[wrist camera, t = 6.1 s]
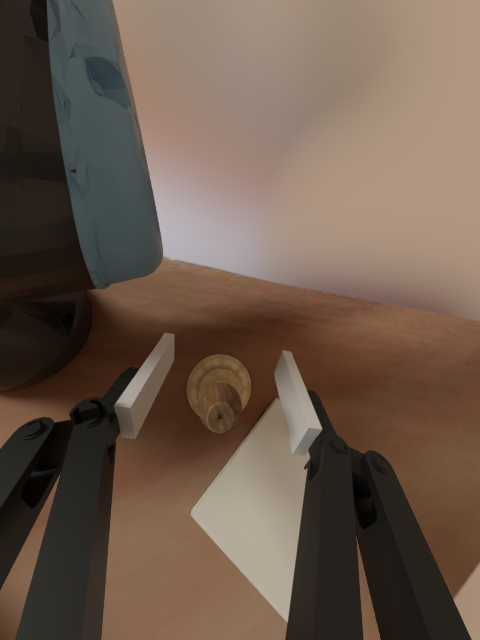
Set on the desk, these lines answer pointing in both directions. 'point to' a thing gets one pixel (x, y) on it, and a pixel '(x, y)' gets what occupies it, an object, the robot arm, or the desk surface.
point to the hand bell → (219, 391)
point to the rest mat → (259, 508)
